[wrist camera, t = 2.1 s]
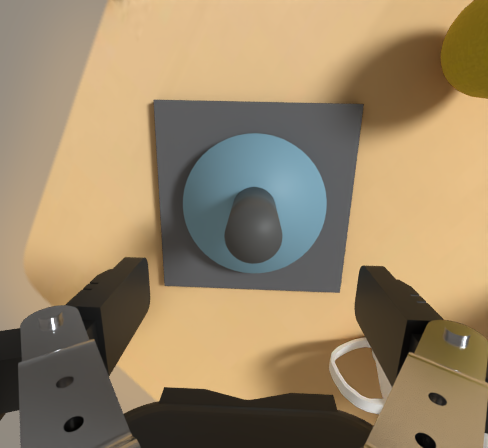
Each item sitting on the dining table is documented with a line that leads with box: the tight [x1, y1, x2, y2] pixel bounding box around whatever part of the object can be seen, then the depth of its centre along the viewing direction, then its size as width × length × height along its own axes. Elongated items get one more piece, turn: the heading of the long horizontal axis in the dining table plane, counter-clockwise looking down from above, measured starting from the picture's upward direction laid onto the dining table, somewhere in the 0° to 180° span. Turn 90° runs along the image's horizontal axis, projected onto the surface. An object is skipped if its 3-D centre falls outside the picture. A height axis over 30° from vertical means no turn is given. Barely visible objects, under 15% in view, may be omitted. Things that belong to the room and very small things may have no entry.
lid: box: [183, 133, 327, 273], centre depth 20 cm, size 10×10×7 cm
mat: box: [154, 100, 364, 293], centre depth 23 cm, size 14×14×1 cm
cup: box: [329, 337, 488, 448], centre depth 23 cm, size 7×10×8 cm
